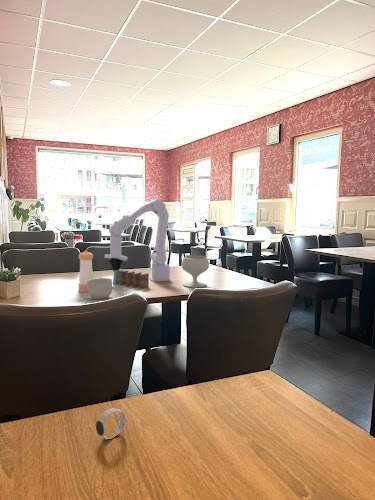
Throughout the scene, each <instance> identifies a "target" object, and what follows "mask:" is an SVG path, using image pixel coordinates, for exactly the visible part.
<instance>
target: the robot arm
mask: <svg viewBox="0 0 375 500" xmlns="http://www.w3.org/2000/svg"><path fill="white" fill-rule="evenodd" d="M147 212H152V213H154V214H155V215H156V216H157V218H158V223H157V229H156V230H157V231H156V236H155V237H156V238H155V245H154V248H153V250H152V253H151V255H150V259H151V261H152V262H151V278H150V277H149V280H150V281H152V282H153V283H157V282H169V281H171V278H170V277H171V269H170V265H169V263H166V262H167V255H166V253H167V251H166V239H167V232H168V222H169V212H168V209H167V207H166V204H165V203H164V202H163V200H161V199H159V198H158V199H150V200H149V201H147V202H145V203H143V205H141V206H140V207H139V208H137V210H135V211H134V212H132V213H131V214H126V215H125V214H124V215H122V217H121V218H120V219H119V220H116V221H115V223H113V224H111V225H110V226H109V228H108V232H109V234H110V235H109V239H110V240H109V245H110V249H109V254H107V253H106V254H104V259H109V263H110V265H111V268H112V272H113V273H114V270H120V269H121V268H120V267H121V265H122V263H123V262H125V261H128V256H126V255H123V254H122V233H123V232H124V231H125V230H127V229H128V228H129V227H131V226H132V225H134V221H135V220H136V219H138V218H139V217H141V216H143V215H144V214H145V213H147Z"/></svg>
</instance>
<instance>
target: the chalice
mask: <svg viewBox="0 0 375 500" xmlns="http://www.w3.org/2000/svg"><path fill="white" fill-rule="evenodd" d="M209 262H210V261H209V259H208V257H207V256H205V255H193V254H192V255H185V256H184V257H182V261H181V268H182V270H183V271H184V272H186V273H188V274H189V275H191V277H192V281H188V282H184V283H183V286H184V287H188V288H195V289H197V288H198V287H199V288H203V287H206V286H207V283H203V282H199V281H198V280H197V279H198V277H199V276H200V275H202V274H203V273H205V272H206V271H208V270H209V267H210V263H209Z"/></svg>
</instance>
